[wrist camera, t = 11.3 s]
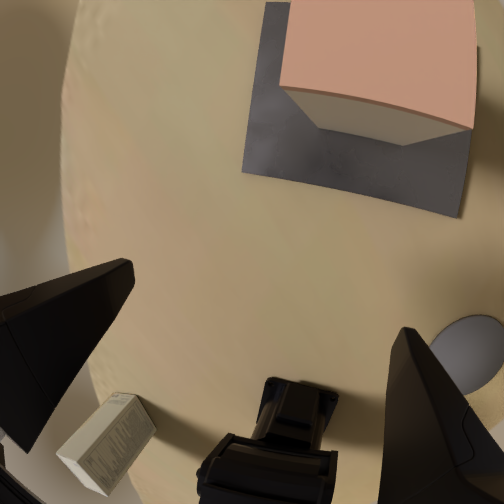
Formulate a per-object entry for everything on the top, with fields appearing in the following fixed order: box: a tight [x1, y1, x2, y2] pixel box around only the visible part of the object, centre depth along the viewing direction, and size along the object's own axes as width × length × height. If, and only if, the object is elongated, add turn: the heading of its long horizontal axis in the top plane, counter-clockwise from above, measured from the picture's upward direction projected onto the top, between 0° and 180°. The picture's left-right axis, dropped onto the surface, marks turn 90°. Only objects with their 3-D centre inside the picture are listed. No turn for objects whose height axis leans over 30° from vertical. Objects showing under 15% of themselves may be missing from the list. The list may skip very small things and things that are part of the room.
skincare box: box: [56, 393, 157, 497], centre depth 28 cm, size 6×4×12 cm
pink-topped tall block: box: [279, 0, 477, 146], centre depth 12 cm, size 6×6×12 cm
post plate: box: [242, 2, 472, 219], centre depth 16 cm, size 13×15×5 cm
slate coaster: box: [429, 315, 504, 395], centre depth 20 cm, size 8×8×1 cm
